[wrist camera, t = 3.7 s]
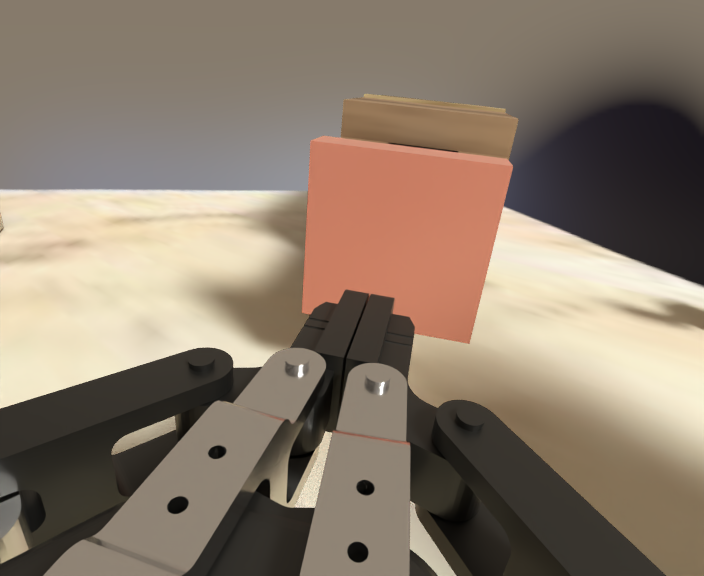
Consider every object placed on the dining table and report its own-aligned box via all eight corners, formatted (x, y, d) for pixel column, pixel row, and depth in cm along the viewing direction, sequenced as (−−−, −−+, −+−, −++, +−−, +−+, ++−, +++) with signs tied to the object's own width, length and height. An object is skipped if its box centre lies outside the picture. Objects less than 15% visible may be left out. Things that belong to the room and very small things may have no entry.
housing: (477, 293, 35) (520, 115, 29) (329, 268, 37) (343, 95, 31) (467, 223, 53) (493, 104, 47) (368, 209, 55) (382, 92, 49)
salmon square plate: (469, 343, 20) (513, 166, 17) (301, 312, 21) (310, 140, 18) (459, 223, 38) (480, 125, 35) (368, 210, 39) (379, 113, 36)
